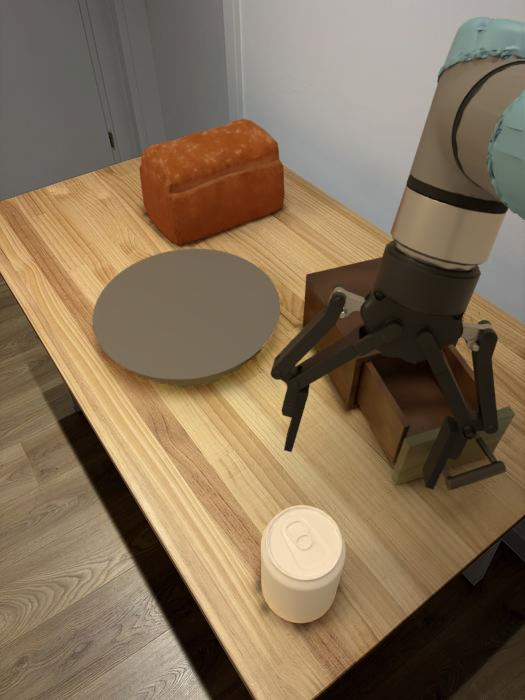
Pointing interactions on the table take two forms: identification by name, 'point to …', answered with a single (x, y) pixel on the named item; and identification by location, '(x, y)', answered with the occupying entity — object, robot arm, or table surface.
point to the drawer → (423, 416)
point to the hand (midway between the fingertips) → (358, 461)
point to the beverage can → (301, 563)
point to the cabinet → (316, 295)
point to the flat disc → (186, 316)
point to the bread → (211, 180)
